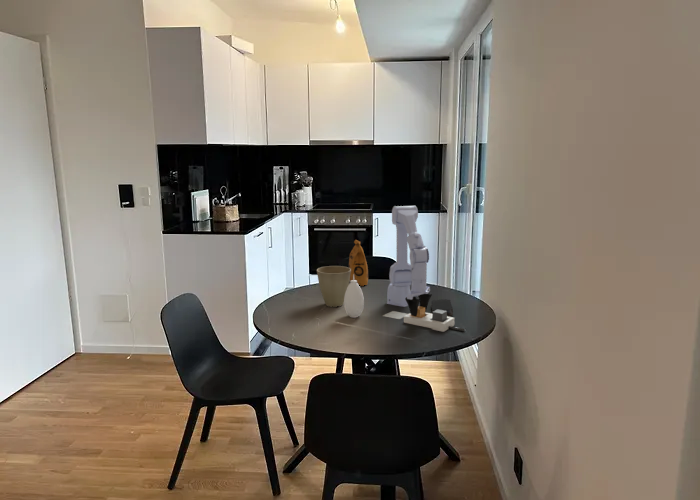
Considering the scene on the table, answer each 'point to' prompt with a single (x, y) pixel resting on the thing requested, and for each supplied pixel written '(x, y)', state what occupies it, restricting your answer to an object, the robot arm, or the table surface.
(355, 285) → the sauce bottle
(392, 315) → the grey mat
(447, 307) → the black sponge
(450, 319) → the white slotted board
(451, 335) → the table surface
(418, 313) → the orange plug
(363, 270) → the coffee package
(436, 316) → the dark grey block
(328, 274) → the plant pot
